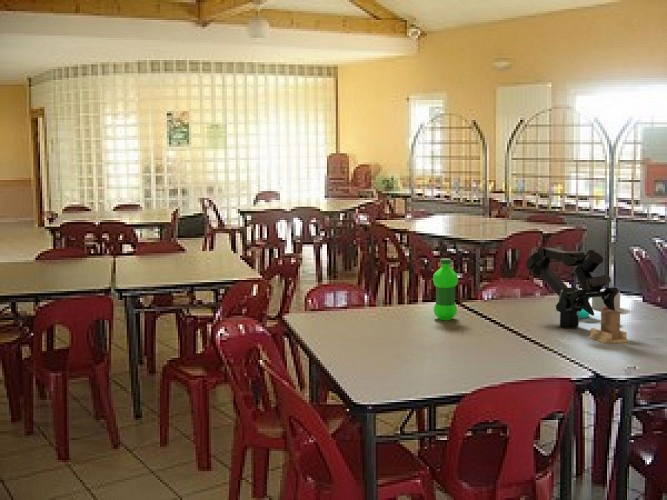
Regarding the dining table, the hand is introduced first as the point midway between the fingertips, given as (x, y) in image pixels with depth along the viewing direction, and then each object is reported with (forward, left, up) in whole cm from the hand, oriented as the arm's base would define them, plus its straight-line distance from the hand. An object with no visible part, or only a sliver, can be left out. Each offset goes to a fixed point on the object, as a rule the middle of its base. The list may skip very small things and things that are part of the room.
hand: (603, 314), depth 293 cm
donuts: (-13, +36, -9) cm, 39 cm away
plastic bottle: (-63, +12, -9) cm, 65 cm away
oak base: (+2, -2, -9) cm, 9 cm away
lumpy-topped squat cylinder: (-3, +58, -9) cm, 58 cm away
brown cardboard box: (+3, -3, -8) cm, 9 cm away
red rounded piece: (0, +27, -9) cm, 28 cm away
